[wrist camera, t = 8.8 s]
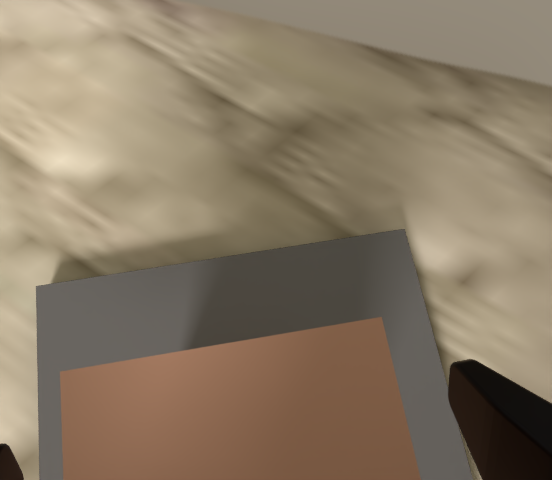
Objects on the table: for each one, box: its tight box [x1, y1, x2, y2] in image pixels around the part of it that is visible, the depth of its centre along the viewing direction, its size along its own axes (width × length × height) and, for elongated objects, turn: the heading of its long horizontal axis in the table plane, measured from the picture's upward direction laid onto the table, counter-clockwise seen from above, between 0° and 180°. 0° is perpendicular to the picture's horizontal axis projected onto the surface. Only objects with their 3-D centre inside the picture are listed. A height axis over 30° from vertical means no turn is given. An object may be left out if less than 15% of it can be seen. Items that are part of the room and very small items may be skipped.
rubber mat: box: [36, 229, 473, 480], centre depth 17 cm, size 14×14×1 cm
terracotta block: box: [60, 317, 421, 480], centre depth 11 cm, size 5×5×10 cm
